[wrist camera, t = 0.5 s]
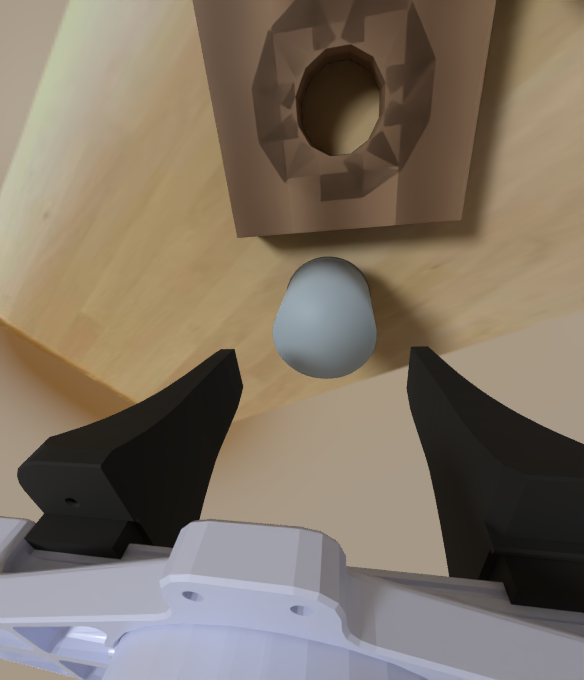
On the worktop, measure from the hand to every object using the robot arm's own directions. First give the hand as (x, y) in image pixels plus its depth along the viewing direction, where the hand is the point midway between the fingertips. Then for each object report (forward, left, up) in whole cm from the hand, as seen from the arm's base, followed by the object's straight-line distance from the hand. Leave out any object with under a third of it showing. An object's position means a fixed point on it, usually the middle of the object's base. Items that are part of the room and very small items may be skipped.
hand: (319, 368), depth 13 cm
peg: (0, 0, -10) cm, 10 cm away
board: (-1, -9, -10) cm, 14 cm away
